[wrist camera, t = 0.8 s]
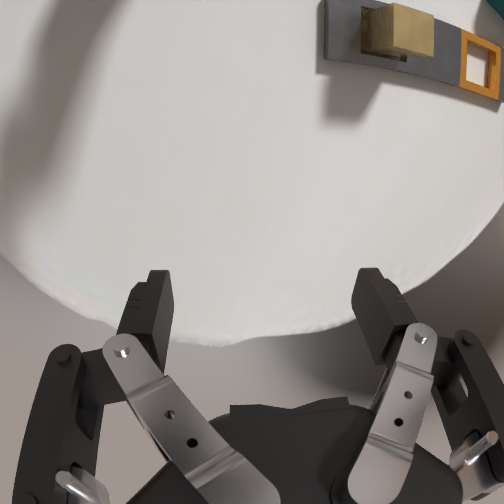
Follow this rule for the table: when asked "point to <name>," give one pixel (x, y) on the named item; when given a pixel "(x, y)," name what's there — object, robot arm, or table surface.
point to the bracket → (498, 6)
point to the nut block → (398, 31)
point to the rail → (437, 67)
